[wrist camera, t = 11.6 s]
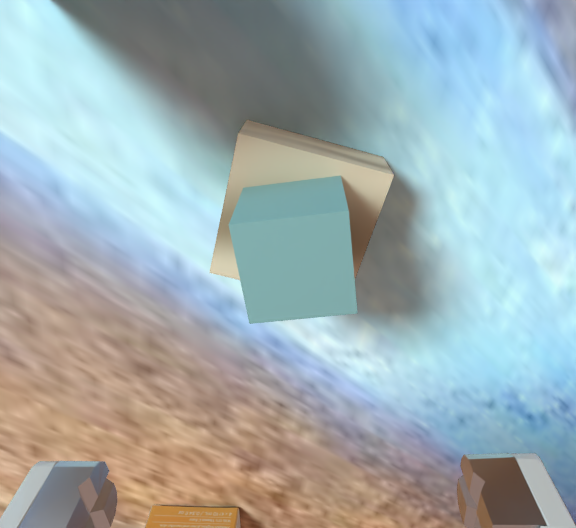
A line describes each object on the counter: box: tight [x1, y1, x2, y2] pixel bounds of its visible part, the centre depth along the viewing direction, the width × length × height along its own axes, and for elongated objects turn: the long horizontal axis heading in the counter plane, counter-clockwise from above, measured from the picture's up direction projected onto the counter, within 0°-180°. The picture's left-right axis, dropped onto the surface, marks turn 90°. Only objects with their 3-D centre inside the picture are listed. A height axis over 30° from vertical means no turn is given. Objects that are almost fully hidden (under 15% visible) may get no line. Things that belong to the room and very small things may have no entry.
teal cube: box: [229, 176, 357, 324], centre depth 22 cm, size 5×5×5 cm
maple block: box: [210, 120, 394, 280], centre depth 26 cm, size 8×8×4 cm
